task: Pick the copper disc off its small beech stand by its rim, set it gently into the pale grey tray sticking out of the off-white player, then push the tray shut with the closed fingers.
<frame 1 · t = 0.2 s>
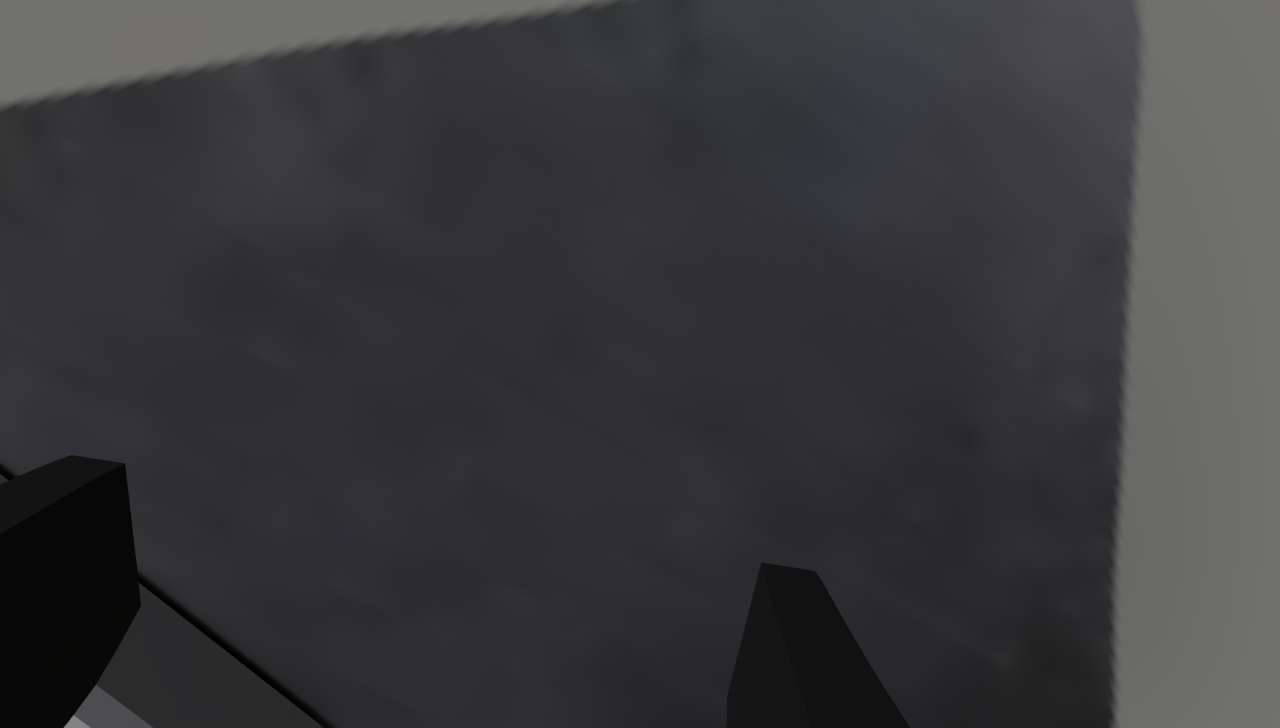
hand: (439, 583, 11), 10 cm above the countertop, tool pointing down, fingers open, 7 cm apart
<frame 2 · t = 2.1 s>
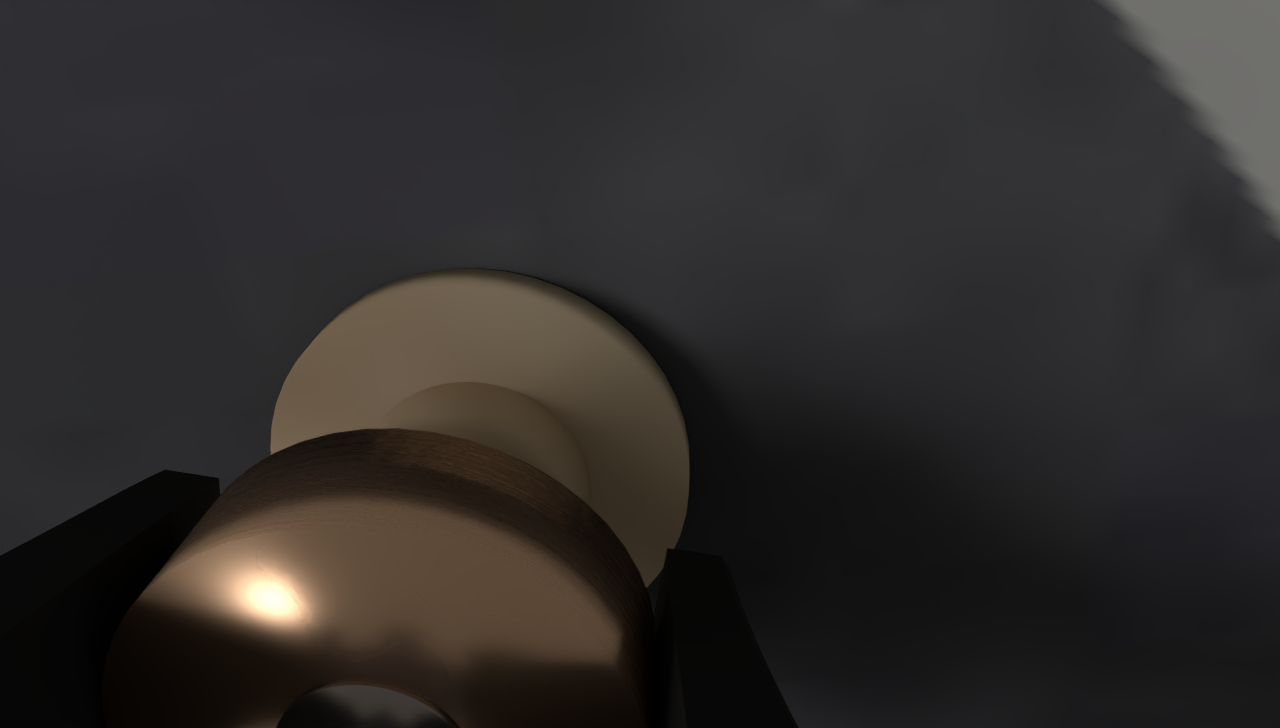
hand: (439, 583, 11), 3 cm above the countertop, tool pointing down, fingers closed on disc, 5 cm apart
stand: (487, 457, 13), on the countertop
disc: (421, 632, 10), point 3 cm above the countertop, touching gripper, stand
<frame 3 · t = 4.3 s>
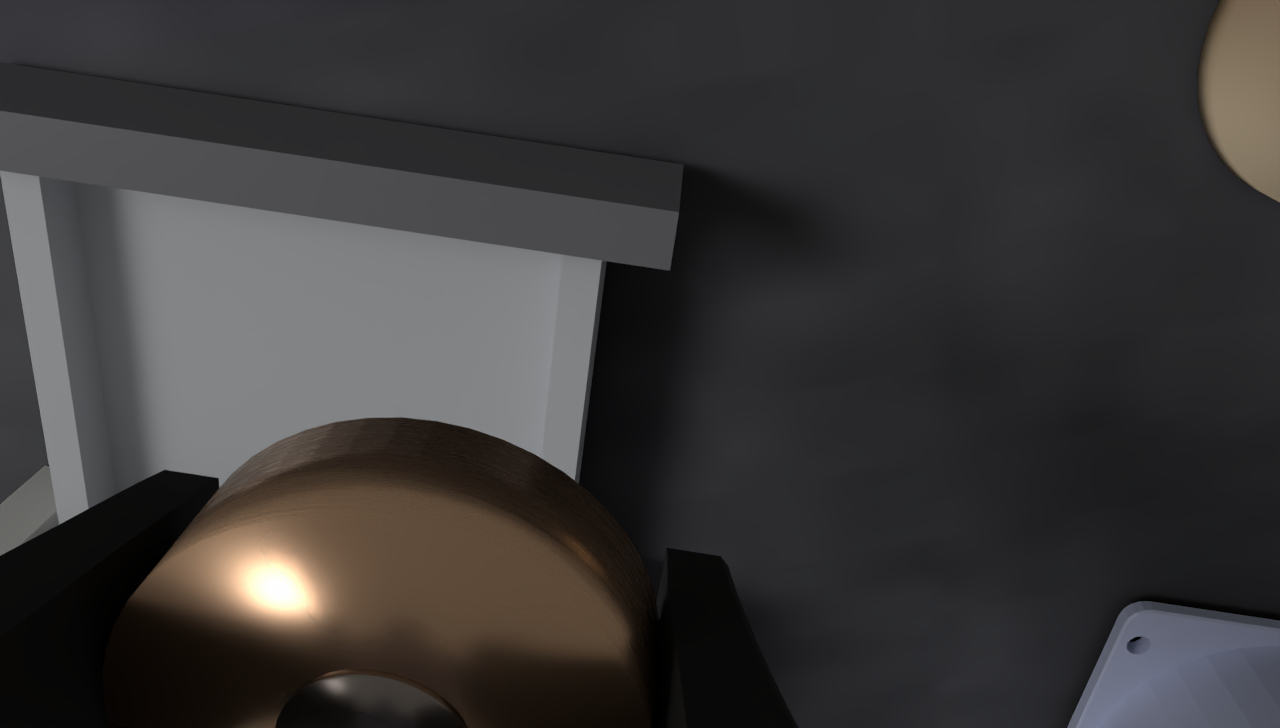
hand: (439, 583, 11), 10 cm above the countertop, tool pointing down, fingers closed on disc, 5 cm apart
player: (343, 726, 25), on the countertop
tray: (311, 452, 20), point 2 cm above the countertop, slide at 8.0 cm
disc: (423, 623, 10), point 10 cm above the countertop, touching gripper
when the fingers open (2 cm above the countertop, at t = 6.6 s): disc drops 2 cm, resting on tray.
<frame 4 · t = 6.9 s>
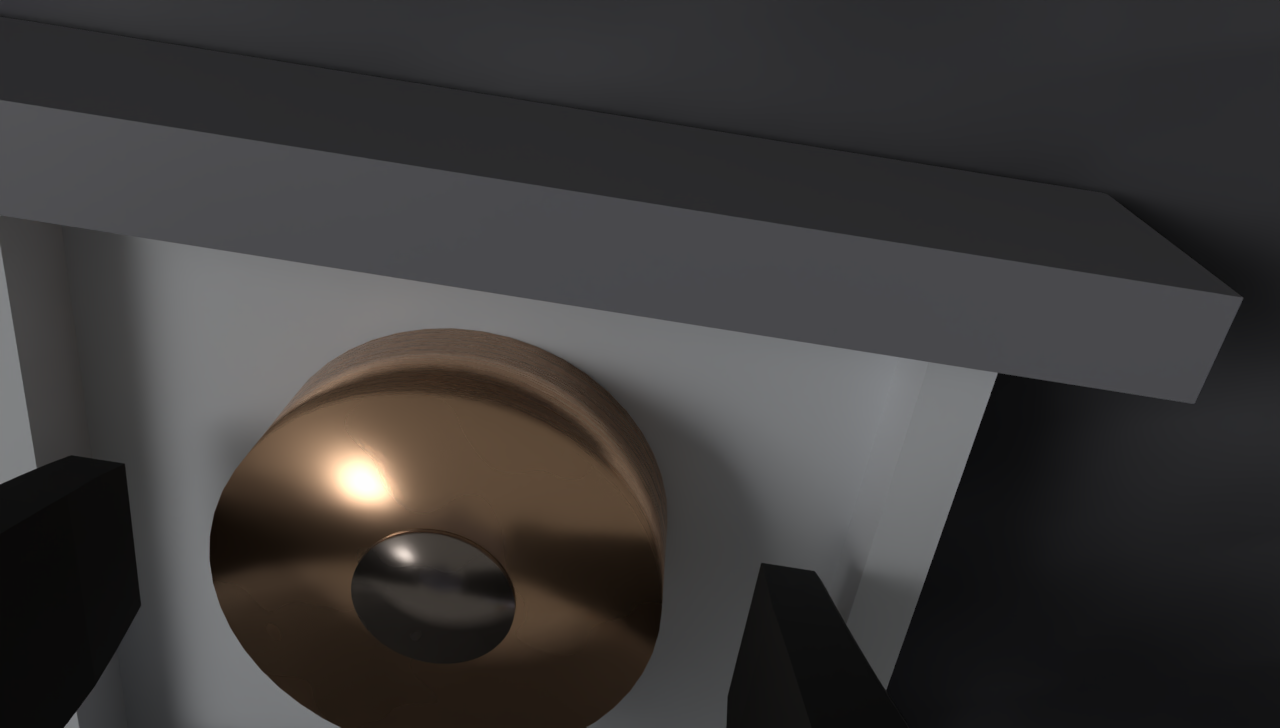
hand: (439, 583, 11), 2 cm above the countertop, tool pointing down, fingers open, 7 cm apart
tray: (443, 651, 12), point 2 cm above the countertop, slide at 8.0 cm, touching disc
disc: (467, 510, 12), point 1 cm above the countertop, touching tray
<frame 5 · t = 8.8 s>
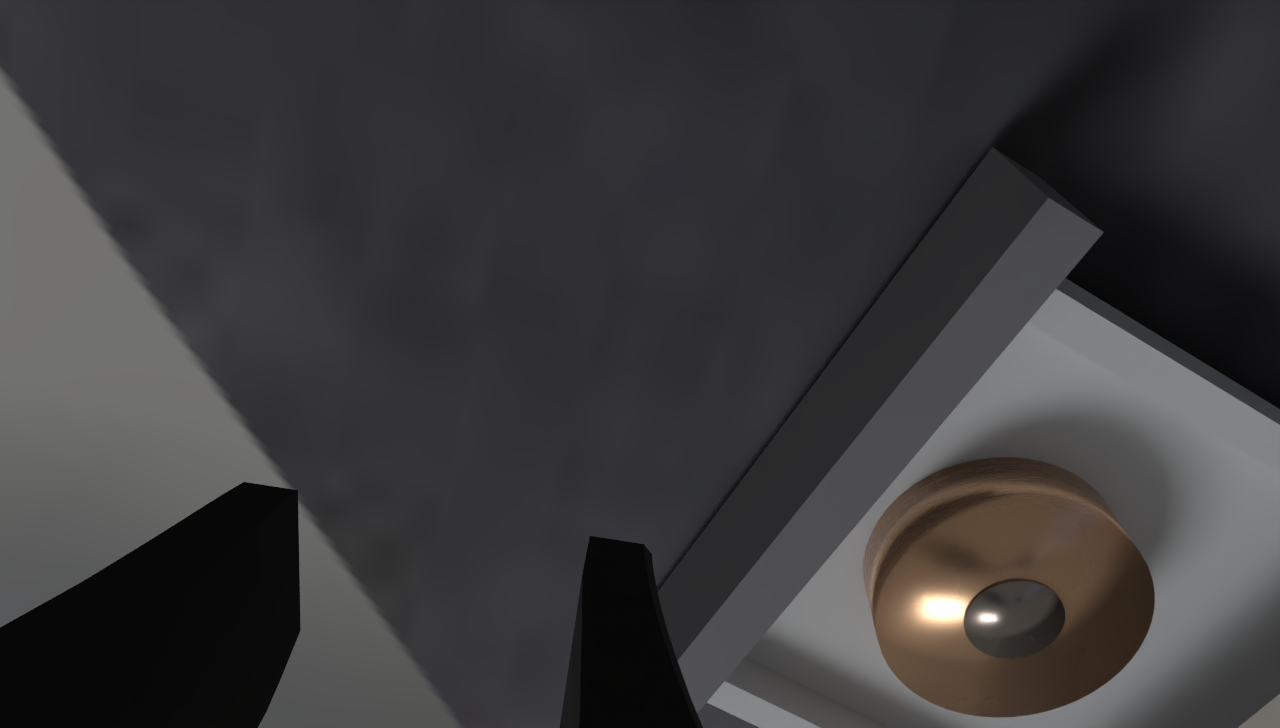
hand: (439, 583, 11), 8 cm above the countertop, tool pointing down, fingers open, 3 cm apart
tray: (1065, 624, 19), point 2 cm above the countertop, slide at 8.0 cm, touching disc
disc: (989, 563, 19), point 1 cm above the countertop, touching tray
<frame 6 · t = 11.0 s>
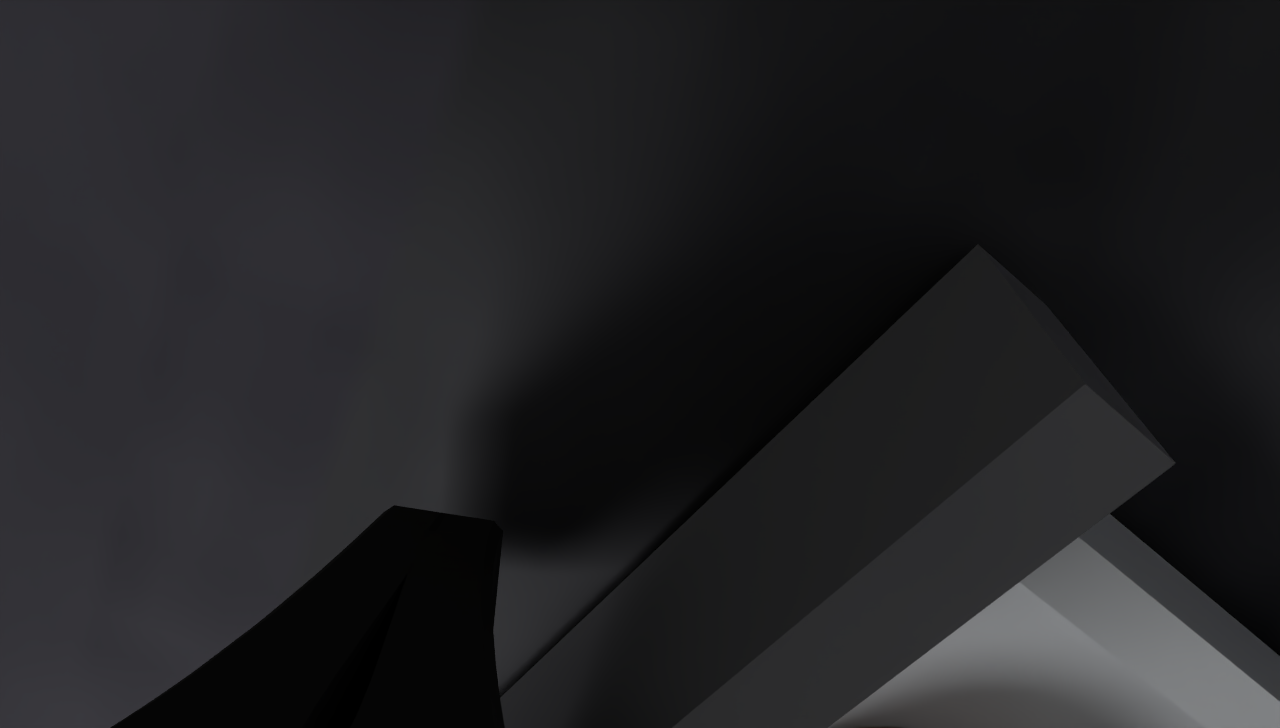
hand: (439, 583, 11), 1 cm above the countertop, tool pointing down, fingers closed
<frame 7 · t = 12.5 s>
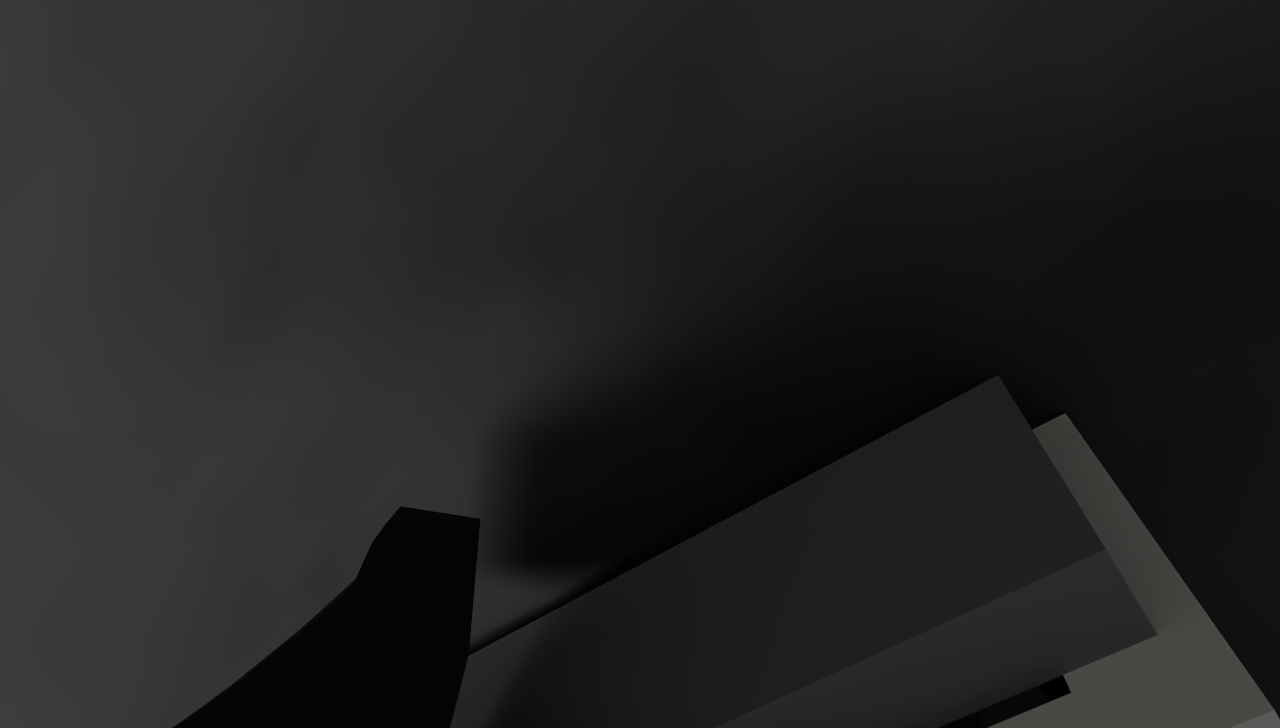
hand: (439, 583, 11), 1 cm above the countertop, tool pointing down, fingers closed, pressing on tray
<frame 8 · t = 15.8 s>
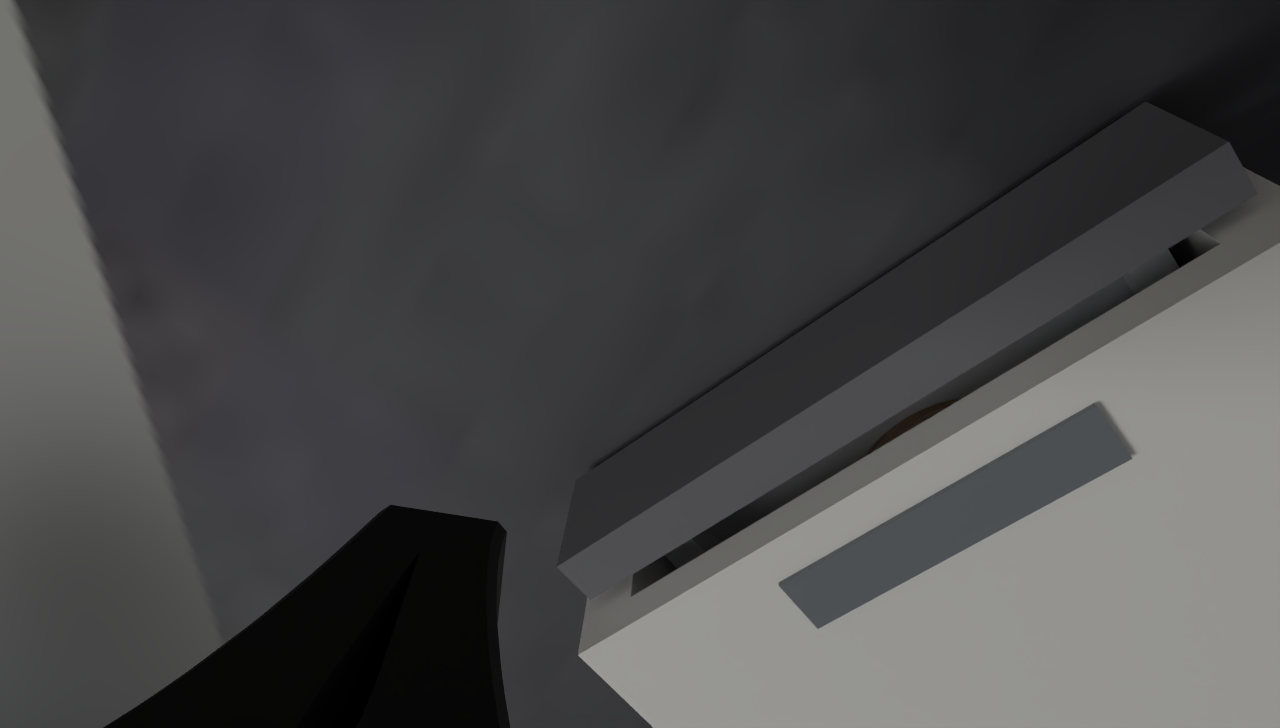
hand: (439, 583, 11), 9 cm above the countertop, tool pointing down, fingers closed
player: (1033, 574, 22), on the countertop
tray: (1019, 577, 20), point 2 cm above the countertop, slide at 0.0 cm, touching disc
disc: (970, 502, 20), point 1 cm above the countertop, touching tray
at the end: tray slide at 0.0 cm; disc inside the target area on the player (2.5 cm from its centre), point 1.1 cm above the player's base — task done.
